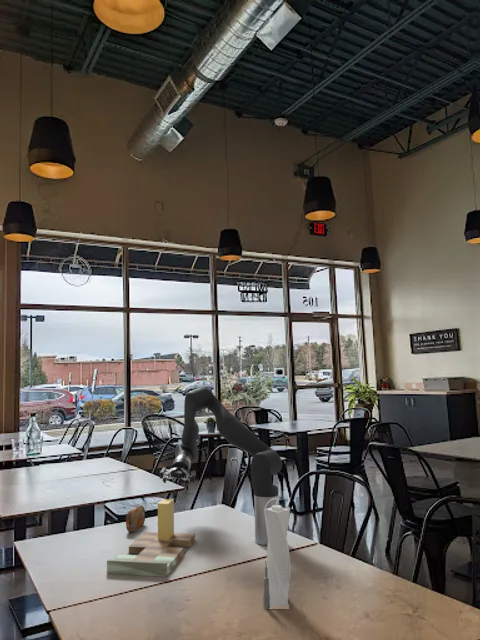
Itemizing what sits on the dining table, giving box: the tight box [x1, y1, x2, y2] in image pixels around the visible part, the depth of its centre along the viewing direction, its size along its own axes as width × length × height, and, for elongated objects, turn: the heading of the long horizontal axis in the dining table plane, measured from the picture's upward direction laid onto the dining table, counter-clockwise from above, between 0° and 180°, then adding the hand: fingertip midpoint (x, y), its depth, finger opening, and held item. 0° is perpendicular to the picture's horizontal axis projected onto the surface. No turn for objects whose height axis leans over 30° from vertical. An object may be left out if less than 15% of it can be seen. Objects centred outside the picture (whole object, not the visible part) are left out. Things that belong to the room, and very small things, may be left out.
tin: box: [125, 505, 146, 533], centre depth 216 cm, size 15×3×8 cm, turn 168°
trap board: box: [106, 531, 196, 578], centre depth 184 cm, size 35×20×4 cm, turn 170°
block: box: [157, 498, 175, 540], centre depth 197 cm, size 7×4×13 cm, turn 170°
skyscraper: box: [262, 497, 291, 610], centre depth 146 cm, size 8×8×28 cm
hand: (175, 481), depth 206 cm, fingers open, 8 cm apart
